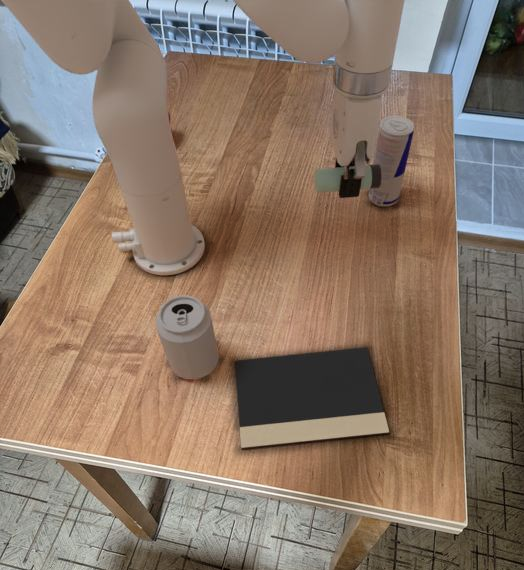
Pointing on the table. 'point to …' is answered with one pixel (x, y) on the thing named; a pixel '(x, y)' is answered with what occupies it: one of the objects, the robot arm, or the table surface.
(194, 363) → the can
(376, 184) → the vial
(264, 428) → the book
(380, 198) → the beverage can
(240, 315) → the table surface
